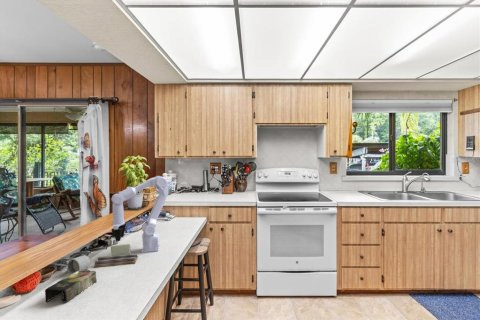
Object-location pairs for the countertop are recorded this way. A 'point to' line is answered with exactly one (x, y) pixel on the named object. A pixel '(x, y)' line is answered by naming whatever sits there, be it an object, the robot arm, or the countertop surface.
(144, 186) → the robot arm
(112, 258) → the track board
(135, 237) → the countertop surface
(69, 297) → the mossy channel block
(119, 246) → the door panel
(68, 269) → the grey cylinder
